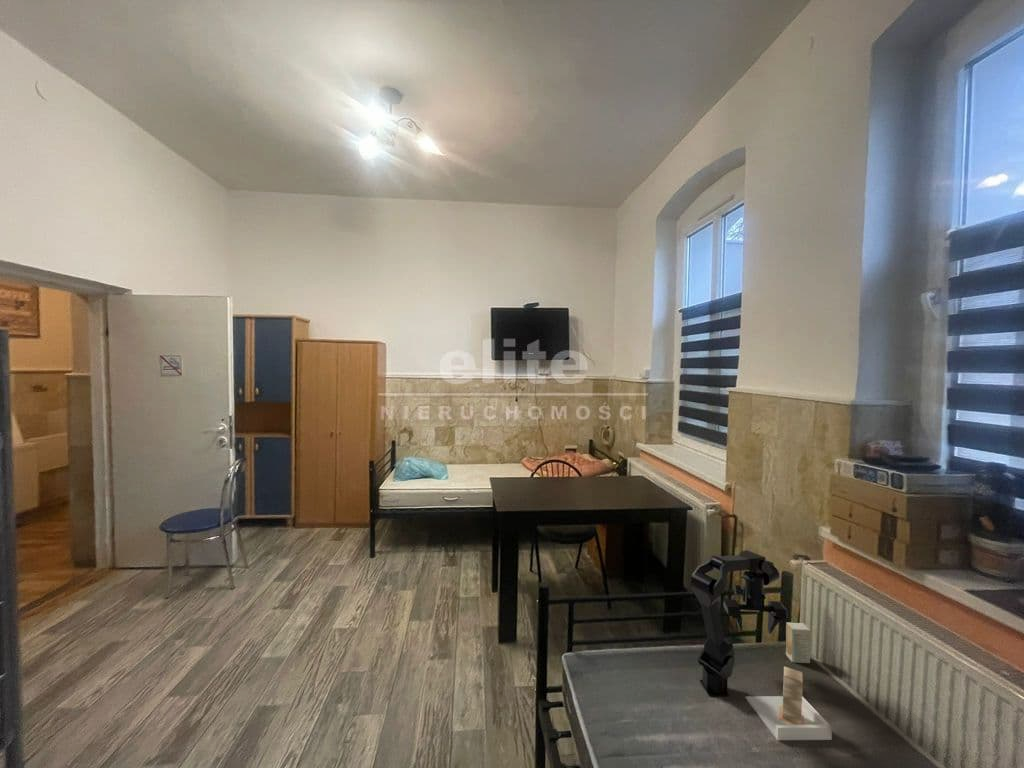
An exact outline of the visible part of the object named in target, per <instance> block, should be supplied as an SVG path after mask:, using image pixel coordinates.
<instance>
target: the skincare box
mask: <svg viewBox="0 0 1024 768" xmlns="http://www.w3.org/2000/svg"><path fill="white" fill-rule="evenodd" d="M785 624H786V625H785V655H786V656H787V658H788V659H789V660H790V662H791V663H799V664H810V663H811V629H810V628H809V627H808V625H806V624H805V623H804V622H789V621H788V622H787V621H786V623H785Z"/></svg>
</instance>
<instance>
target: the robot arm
mask: <svg viewBox="0 0 1024 768" xmlns="http://www.w3.org/2000/svg"><path fill="white" fill-rule="evenodd" d="M766 559H767V558H766V557H765V556H763V555H762V554H758V553H755V552H753V551H751V550H748V549H745V550H741V551H740V552H739V554H738V555H737V554H736V555H735V554H734V555H721V556H719V555H718V556H717V555H712V556H711V557H710V558H709V559H708V561H705V562H704V563H702V564H699V565H698V566H697V567H696V569H695V570H694V571H693V573H692V574H691V576H690V578H689V584H690V587H691V590H692V592H693V594H694V596H696V599H698V601H699V602H700V603H699V604H700V606H701V612H702V617H703V622H704V626H705V628H704V629H705V633H706V637H707V639H706V640H705V642H704V644H703V649H702V650H701V653H700V654H699V656H698V658H697V662H698V665H700V666H702V679H699V682H700V684H701V685H702V687H703V689H704V691H706V693H707V694H708V696H710V697H729V696H730V694H729V692H728V691H727V690H728V685H729V683H728V682H729V680H728V679H729V678H730V677H732V674H733V669H734V665H735V656H734V655H735V651H734V644H733V643H732V642H731V641H729V640H728V639H727V638H725V636H724V631H723V625H722V621H721V617H720V610H719V605H718V600H719V599H720V597H721V596H722V592H723V589H724V588H725V587H726V586H727V585H726V580H727V579H726V578H727V577H726V576H727V574H728V573H729V572H739V571H744V572H743V573H742V574H741V575H740V578H742V579H743V580H744V586H741V585H740V584H734V585H733V593H734V594H735V595H736V596H739V597H740V598H741V600H742V602H743V604H742V603H741V604H740V603H738V602H737V600H736V599H729V598H728V599H727V598H725V599H724V600H723V602H722V603H723V608H724V610H725V612H726V614H727V616H730V617H732V619H735V621H736V623H737V626H738V629H739V631H740V633H742V632H743V617H742V615H741V614H742V612H755V613H756V612H757V613H758V612H759V613H760V612H764V613H767V615H768V619H767V620H768V621H767V630H768V631H767V633H768V634H772V632H773V631H774V630H775V627H776V626H777V625H778V624H779V623H780V622H781V621H782V622H783V621H784V619H785V620H786V619H788V618H789V613H788V610H787V608H786V607H785V606H784V605H783V603H782V602H781V601H779V600H778V601H776V600H775V601H774V600H773V601H772V600H771V601H770V600H769V601H768V602H767V604H765V600H766V596H765V588H764V587H765V586H768V585H771V584H772V583H774V582H776V581H778V580H779V579H780V572H779V570H778V569H777V568H776V567H775V565H774V562H772V561H770V560H766ZM713 570H716V571H718V572H719V578H718V579H715V578H714V577H712V576H709V575H707V573H709V572H711V571H713Z"/></svg>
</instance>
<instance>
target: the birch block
mask: <svg viewBox="0 0 1024 768" xmlns="http://www.w3.org/2000/svg"><path fill="white" fill-rule="evenodd" d="M803 683H804V681H803V672H802V671H799V670H797V669H792V668H790V667H788V666H783V684H782V685H783V686H782V687H783V688H782V696H783V708H782V718H783V719H785V720H788V721H790V722H793V723H795V724H798V725H801V713H802V696H803V685H804V684H803Z"/></svg>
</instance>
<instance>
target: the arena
mask: <svg viewBox="0 0 1024 768" xmlns="http://www.w3.org/2000/svg"><path fill="white" fill-rule="evenodd" d="M745 700H746V701H747V702H748V704H749V705H750V706H751V707H752V709H753V710H754V711H755V713H756V714H757V715H758V717H759V719H761V721H763V723H764V725H765V726H766V727H767V729H768V730H769V731H770V732H771V734H772V735H773V736H774V738H775V739H776V740H777V741H827V740H828V741H832V738H833V727H832V726H831V724H830V723H829V722H827V721H826V719H825V718H824V717H823V716H822V715H821V714H820V713H819V712H818V711H817V710H816V709H815V708H814V706H812V705H811V704H810V703H809V702H808V701H807V699H806V698H805V697H804V696H803V695H802V713H801V725H798V724H795V723H793V722H790V721H788V720H785V719H783V718H782V708H783V695H782V696H777V695H776V696H775V695H773V696H770V695H769V696H768V695H767V696H766V695H764V696H759V695H758V696H757V695H755V696H745Z"/></svg>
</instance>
